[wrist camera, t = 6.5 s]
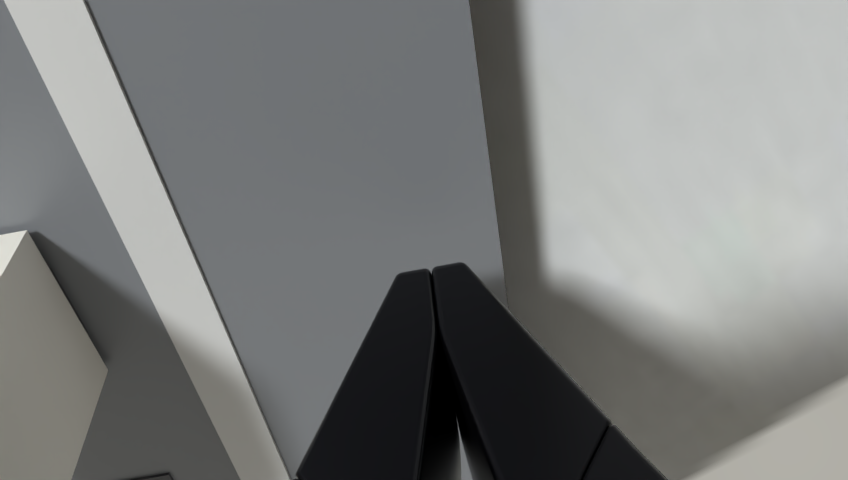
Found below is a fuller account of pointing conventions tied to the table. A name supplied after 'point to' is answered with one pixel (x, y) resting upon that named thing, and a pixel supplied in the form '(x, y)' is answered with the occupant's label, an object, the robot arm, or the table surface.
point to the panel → (238, 204)
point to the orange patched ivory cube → (41, 369)
